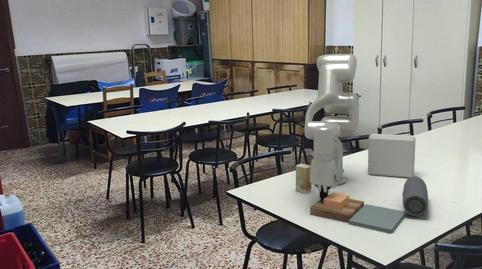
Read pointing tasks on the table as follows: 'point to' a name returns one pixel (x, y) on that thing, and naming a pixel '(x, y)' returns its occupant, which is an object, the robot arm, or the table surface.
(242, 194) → the table surface
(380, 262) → the table surface
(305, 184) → the skincare box
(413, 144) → the bevelled white case
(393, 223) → the mat
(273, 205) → the table surface
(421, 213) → the bluetooth speaker
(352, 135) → the robot arm
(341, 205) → the tile
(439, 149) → the table surface
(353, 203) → the wooden board
